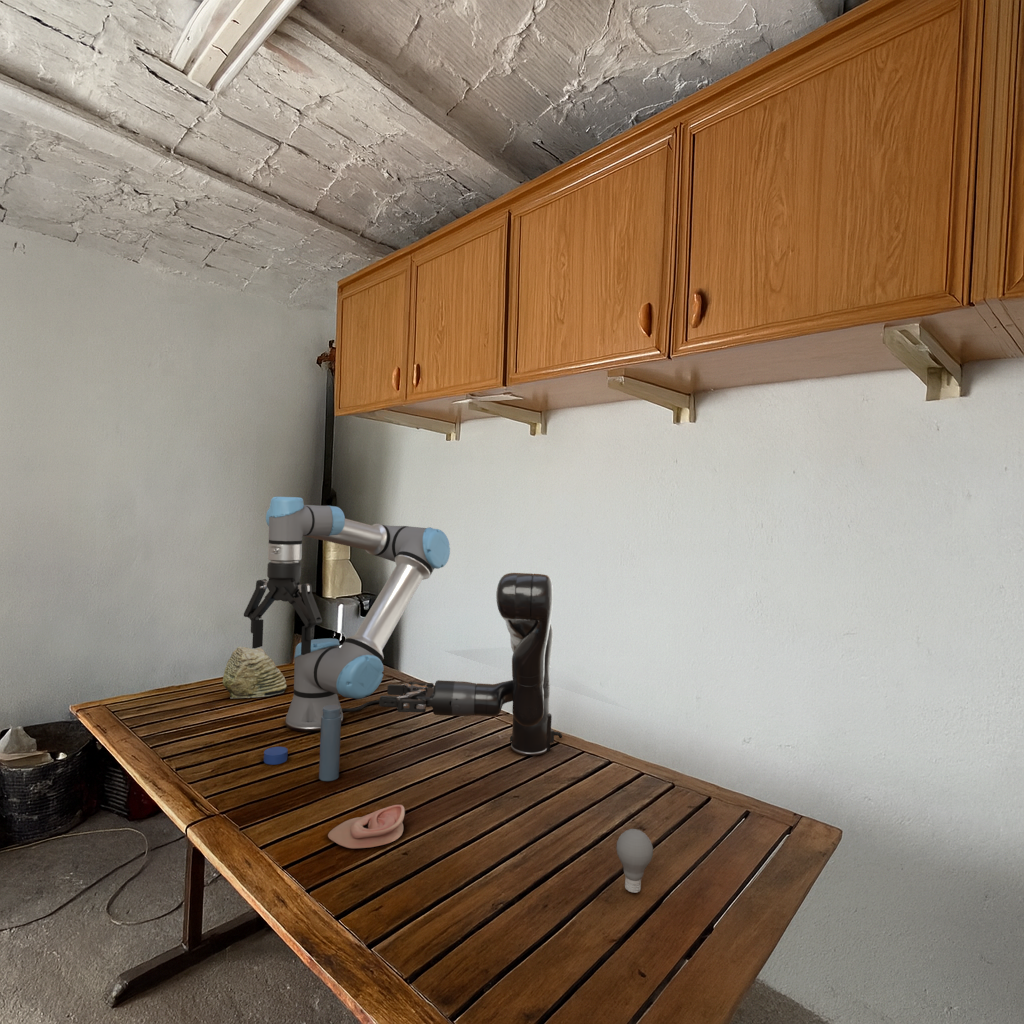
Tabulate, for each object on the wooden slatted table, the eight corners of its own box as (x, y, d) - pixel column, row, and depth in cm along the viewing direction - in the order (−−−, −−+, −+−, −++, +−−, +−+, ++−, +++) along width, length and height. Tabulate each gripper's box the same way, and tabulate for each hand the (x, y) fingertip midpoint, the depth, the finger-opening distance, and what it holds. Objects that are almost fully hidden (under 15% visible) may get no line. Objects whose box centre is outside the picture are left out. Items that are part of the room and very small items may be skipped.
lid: (292, 758, 152) (292, 749, 152) (275, 766, 148) (276, 757, 147) (275, 753, 154) (275, 744, 154) (258, 761, 150) (259, 752, 150)
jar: (342, 777, 143) (345, 708, 143) (324, 782, 140) (327, 711, 140) (333, 771, 146) (336, 702, 146) (315, 776, 143) (318, 706, 143)
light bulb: (610, 879, 108) (613, 822, 108) (644, 879, 109) (647, 822, 109) (619, 902, 102) (622, 840, 102) (655, 901, 103) (658, 840, 103)
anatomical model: (320, 822, 115) (348, 794, 127) (319, 843, 116) (348, 813, 127) (388, 833, 113) (411, 803, 124) (387, 855, 113) (410, 823, 124)
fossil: (218, 695, 195) (220, 647, 195) (278, 685, 208) (279, 640, 207) (228, 703, 189) (230, 653, 188) (289, 692, 201) (290, 645, 201)
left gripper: (230, 559, 151) (226, 647, 151) (320, 566, 143) (317, 659, 144) (251, 556, 158) (248, 641, 158) (339, 563, 150) (335, 652, 151)
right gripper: (459, 673, 150) (390, 670, 150) (453, 691, 136) (377, 687, 136) (457, 704, 150) (389, 701, 150) (451, 726, 136) (376, 722, 136)
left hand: (281, 650), depth 151 cm, fingers open, 13 cm apart
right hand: (383, 695), depth 143 cm, fingers open, 8 cm apart
